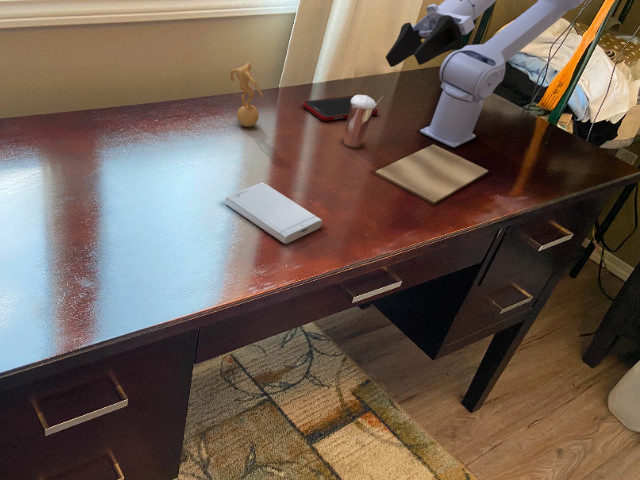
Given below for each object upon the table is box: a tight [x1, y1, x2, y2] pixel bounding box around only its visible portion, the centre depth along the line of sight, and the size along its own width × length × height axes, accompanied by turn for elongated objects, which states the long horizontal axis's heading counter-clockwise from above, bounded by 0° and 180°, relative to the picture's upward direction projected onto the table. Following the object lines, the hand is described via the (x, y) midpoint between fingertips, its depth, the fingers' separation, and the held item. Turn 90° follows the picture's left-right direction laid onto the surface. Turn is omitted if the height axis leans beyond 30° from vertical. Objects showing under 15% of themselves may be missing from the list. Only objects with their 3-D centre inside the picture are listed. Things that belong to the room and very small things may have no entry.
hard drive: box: [224, 181, 323, 245], centre depth 91 cm, size 2×8×12 cm
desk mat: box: [374, 143, 489, 205], centre depth 110 cm, size 20×12×1 cm, turn 136°
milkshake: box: [343, 94, 384, 149], centre depth 111 cm, size 4×5×10 cm
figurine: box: [230, 62, 264, 128], centre depth 110 cm, size 8×6×12 cm
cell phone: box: [302, 95, 379, 122], centre depth 125 cm, size 8×15×1 cm, turn 121°
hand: (402, 60), depth 101 cm, fingers open, 7 cm apart
